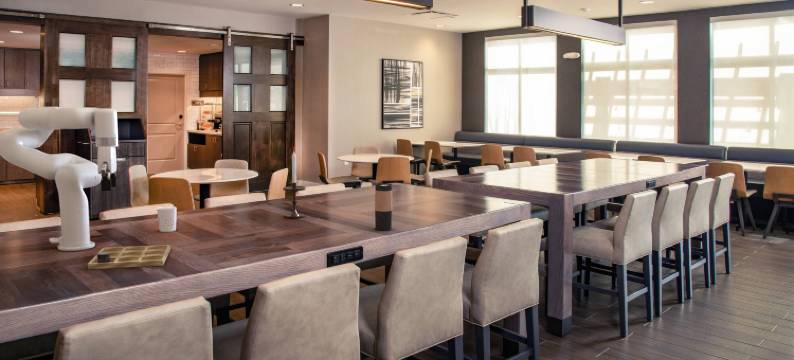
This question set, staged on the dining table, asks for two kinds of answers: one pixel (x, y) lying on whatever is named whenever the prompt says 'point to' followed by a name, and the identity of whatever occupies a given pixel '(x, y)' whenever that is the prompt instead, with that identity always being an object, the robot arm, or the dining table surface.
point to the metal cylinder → (103, 257)
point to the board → (132, 257)
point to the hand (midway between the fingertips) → (109, 188)
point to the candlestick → (294, 189)
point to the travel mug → (383, 207)
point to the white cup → (167, 218)
